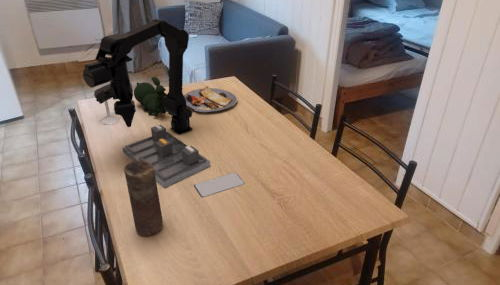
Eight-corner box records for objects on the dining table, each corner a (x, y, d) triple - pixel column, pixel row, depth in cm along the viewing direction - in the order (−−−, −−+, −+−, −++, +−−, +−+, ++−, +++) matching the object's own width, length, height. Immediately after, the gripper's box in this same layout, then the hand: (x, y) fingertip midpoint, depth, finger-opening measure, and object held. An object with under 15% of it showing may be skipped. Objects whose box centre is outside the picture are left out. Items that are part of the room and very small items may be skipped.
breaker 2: (192, 156, 126) (191, 144, 124) (199, 161, 124) (198, 148, 121) (182, 161, 124) (181, 148, 121) (189, 166, 121) (188, 153, 119)
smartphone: (193, 184, 116) (235, 172, 123) (193, 186, 117) (235, 173, 123) (201, 197, 111) (245, 183, 117) (201, 198, 111) (245, 184, 118)
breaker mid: (166, 149, 130) (165, 136, 127) (172, 153, 128) (171, 141, 125) (156, 153, 128) (154, 140, 125) (162, 158, 125) (161, 145, 123)
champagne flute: (117, 115, 156) (107, 61, 144) (118, 122, 151) (107, 66, 138) (101, 118, 154) (88, 63, 142) (101, 125, 149) (88, 68, 136)
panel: (166, 135, 143) (165, 129, 141) (210, 166, 125) (209, 159, 124) (123, 151, 132) (121, 145, 131) (164, 188, 115) (163, 180, 113)
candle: (138, 217, 103) (127, 158, 93) (164, 216, 104) (156, 157, 94) (133, 237, 97) (120, 176, 86) (161, 236, 97) (152, 175, 87)
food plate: (172, 100, 170) (172, 93, 168) (212, 88, 184) (212, 81, 182) (205, 120, 155) (205, 113, 153) (246, 105, 169) (246, 98, 167)
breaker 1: (161, 135, 139) (160, 122, 136) (167, 139, 136) (165, 126, 134) (152, 138, 136) (150, 126, 134) (157, 142, 134) (156, 130, 131)
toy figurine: (174, 120, 157) (148, 96, 172) (172, 80, 146) (144, 58, 162) (154, 126, 152) (129, 101, 167) (150, 85, 141) (123, 62, 156)
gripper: (93, 69, 121) (103, 111, 130) (91, 92, 107) (103, 138, 115) (128, 66, 124) (135, 107, 133) (131, 87, 110) (139, 132, 118)
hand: (128, 120), depth 125 cm, fingers open, 9 cm apart
